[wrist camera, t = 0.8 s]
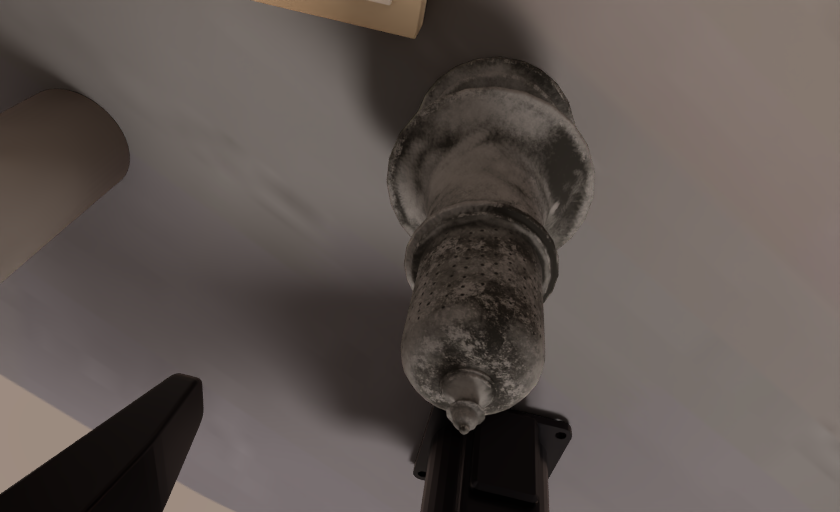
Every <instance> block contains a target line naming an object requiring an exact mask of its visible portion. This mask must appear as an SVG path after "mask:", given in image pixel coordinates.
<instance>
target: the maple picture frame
mask: <svg viewBox="0 0 840 512" xmlns="http://www.w3.org/2000/svg"><path fill="white" fill-rule="evenodd" d="M252 1H256V2H261V3H265V4H269V5H273V6H278V7H282V8H286V9H290V10H294V11H299V12H303V13H307V14H311V15H316V16H320V17H324V18H328V19H332V20H337V21H341V22H345V23H349V24H354V25H358V26H362V27H366V28H370V29H375V30H379V31H383V32H387V33H392V34H396V35H400V36H404V37H409V38H413V39H415V38H416V36H417V34H418V32H419V30H420V29H421V27H422V24H423V19H424V13H425V8H426V2H427V0H252Z"/></svg>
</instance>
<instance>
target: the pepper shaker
mask: <svg viewBox="0 0 840 512" xmlns="http://www.w3.org/2000/svg"><path fill="white" fill-rule="evenodd" d="M129 163H130V153H129V148H128V144H127V141H126V139H125V137H124V135H123V133H122V131H121V129H120V128H119V126H118V125H117V123H116V122H115V121H114V120H113V118H112V117H111V116H110V115H109V114H108V113H107V112H106V111H105V110H104V109H103V108H101V107H100V106H99V105H98V104H96V103H95V102H93V101H92V100H90V99H89V98H87V97H85V96H83V95H81V94H78V93H76V92H73V91H69V90H64V89H48V90H45V91H42V92H40V93H38V94H36V95H34V96H32V97H30V98H28V99H26V100H24V101H23V102H21V103H19V104H17V105H15V106H13V107H11V108H9V109H8V110H6V111H4V112H2V113H0V283H2V282H3V281H4V280H5V279H6V278H7V277H9V276H10V275H11V274H12V273H13V272H14V271H16V270H17V269H18V268H19V267H20V266H21V265H23V264H24V263H25V262H26V261H27V260H28V259H30V258H31V257H32V256H33V255H34V254H35V253H37V252H38V251H39V250H40V249H41V248H42V247H44V246H45V245H46V244H47V243H48V242H49V241H51V240H52V239H53V238H54V237H55V236H56V235H58V234H59V233H60V232H61V231H62V230H63V229H65V228H66V227H67V226H68V225H69V224H70V223H72V222H73V221H74V220H75V219H76V218H77V217H79V216H80V215H81V214H82V213H83V212H84V211H86V210H87V209H88V208H89V207H90V206H91V205H93V204H94V203H95V202H96V201H97V200H98V199H100V198H101V197H102V196H103V195H104V194H105V193H107V192H108V191H109V190H110V189H111V188H112V187H114V186H115V185H116V184H117V183H118V182H119V181H120V180H122V179H123V177H124V176H125V175H126V173H127V171H128V168H129Z"/></svg>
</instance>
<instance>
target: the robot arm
mask: <svg viewBox="0 0 840 512" xmlns="http://www.w3.org/2000/svg"><path fill="white" fill-rule="evenodd" d="M202 416H203V388H202V381H201V380H200V379H199V378H197V377H193V376H189V375H185V374H181V373H177V374H174V375H172V376H170V377H169V378H167V379H166V380H164V381H163V382H161V383H160V384H158V385H157V386H156V387H154V388H153V389H151V390H150V391H148V392H147V393H145V394H144V395H143V396H141V397H140V398H138V399H137V400H135V401H134V402H132V403H131V404H129V405H128V406H127V407H125V408H124V409H122V410H121V411H119V412H118V413H116V414H115V415H114V416H112V417H111V418H109V419H108V420H106V421H105V422H103V423H102V424H101V425H99V426H98V427H96V428H95V429H93V430H92V431H90V432H89V433H88V434H87V435H85V436H83V437H82V438H80V439H79V440H77V441H76V442H75V443H73V444H72V445H70V446H69V447H67V448H66V449H65V450H63V451H62V452H60V453H59V454H57V455H56V456H54V457H53V458H51V459H50V460H49V461H47V462H46V463H44V464H43V465H41V466H40V467H38V468H37V469H36V470H34V471H33V472H31V473H30V474H28V475H27V476H25V477H24V478H23V479H21V480H20V481H18V482H17V483H15V484H14V485H12V486H11V487H10V488H8V489H7V490H5V491H4V492H2V493H1V494H0V512H163V510H164V507H165V505H166V503H167V501H168V498H169V496H170V494H171V491H172V489H173V487H174V484H175V482H176V480H177V477H178V475H179V473H180V470H181V468H182V466H183V463H184V461H185V459H186V456H187V454H188V451H189V449H190V447H191V444H192V442H193V440H194V437H195V435H196V433H197V430H198V428H199V426H200V423H201V420H202ZM571 438H572V430H571V426H570V425H569V424H567V423H565V422H561V421H557V420H553V419H549V418H545V417H540V416H536V415H532V414H528V413H524V412H520V411H515V410H511V409H506V410H503V411H501V412H498V413H495V414H489V415H485V419H484V420H483V422H482V423H481V424H479V425H477V426H476V427H475V428H474V429H473V430H470V431H469V432H468V433H467V434H464V435H463V434H461V433H460V432H459V430H458V429H457V428H456V427H455V426H454V425H453V423H452V422H451V421H450V420H449V419H448V417H447V413H446V411H445V410H443V409H440V408H438V407H436V406H434V405H433V408H432V411H431V414H430V417H429V420H428V424H427V427H426V430H425V433H424V436H423V439H422V443H421V446H420V449H419V452H418V455H417V459H416V462H415V465H414V471H413V474H414V476H415V477H416V478H418V479H421V480H425V485H424V491H423V498H422V504H421V511H420V512H549V491H548V478H549V477H550V475H551V473H552V471H553V470H554V468H555V466H556V464H557V463H558V461H559V459H560V457H561V456H562V454H563V452H564V450H565V449H566V447H567V445H568V443H569V442H570V440H571Z"/></svg>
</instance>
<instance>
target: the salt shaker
mask: <svg viewBox="0 0 840 512" xmlns="http://www.w3.org/2000/svg"><path fill="white" fill-rule="evenodd" d="M594 174H595V171H594V167H593V163H592V159H591V156H590V152H589V148H588V145H587V143H586V142H585V140H584V139H583V137H582V135H581V134H580V132H579V131H578V129H577V128H576V126H575V123H574V119H573V115H572V112H571V108H570V105H569V102H568V100H567V99H566V97H565V95H564V94H563V92H562V91H561V89H560V87H559V86H558V84H556V83H555V82H554V81H553V80H552V79H551V78H550V77H549V76H547V75H546V74H545V73H544V72H543V71H542V70H540V69H538V68H535V67H533V66H531V65H529V64H527V63H525V62H523V61H519V60H514V59H508V58H502V57H493V58H482V59H475V60H473V61H470V62H467V63H464V64H462V65H459V66H456V67H455V68H453V69H452V70H451V71H449V72H448V73H446V74H445V75H443V76H442V77H441V78H439V79H438V80H437V81H436V83H435V84H434V85H433V86H432V88H431V89H430V90H429V91H428V92H427V94H426V95H425V97H424V99H423V102H422V104H421V106H420V109H419V111H418V113H417V114H416V115H415V116H414V117H413V118H412V119H411V121H410V122H409V123H408V124H407V126H406V127H405V128H404V129H403V130H402V132H401V133H400V134H399V136H398V139H397V141H396V143H395V146H394V148H393V150H392V153H391V155H390V158H389V165H388V174H387V186H388V191H389V197H390V202H391V206H392V208H393V210H394V212H395V214H396V216H397V218H398V220H399V222H400V224H401V226H402V227H403V228H404V229H405V230H406V231H407V233H408V234H409V235H410V236H411V239H410V241H409V243H408V245H407V248H406V255H405V261H404V266H405V272H406V278H407V281H408V283H409V285H410V287H411V289H412V291H413V293H412V298H411V302H410V306H409V310H408V314H407V318H406V323H405V327H404V331H403V336H402V342H401V359H402V365H403V370H404V372H405V374H406V376H407V378H408V380H409V381H410V383H411V384H412V386H413V387H414V388H415V390H416V391H417V392H418V393H419V394H420V395H421V396H422V397H423V398H424V399H425V400H426V401H428V402H430V403H431V404H433V405H434V406H436V407H438V408H440V409H443V410H445V411H446V413H447V417H448V419H449V420H450V421H451V422H452V423H453V425H454V426H455V427H456V428H457V429H458V430H459V432H460V433H461V434H463V435H464V434H467V433H468V432H469V431H470V430H473V429H474V428H475V427H476V426H477V425H479V424H481V423H482V422H483V420H484V419H485V415H489V414H495V413H498V412H501V411H503V410H506V409H509V408H510V407H512V406H513V405H515V404H516V403H518V402H519V401H521V400H522V399H523V398H524V397H526V396H527V395H528V394H529V393H530V392H531V390H532V389H533V388H534V387H535V386H536V385H537V383H538V380H539V378H540V375H541V373H542V369H543V366H544V362H545V335H544V311H543V303H544V302H545V301H546V299H547V298H548V297H549V295H550V294H551V293H552V291H553V289H554V286H555V283H556V281H557V278H558V266H559V257H558V254H557V251H556V250H558V249H559V248H560V247H561V246H562V245H564V244H565V243H566V242H567V241H569V240H570V239H571V238H572V237H573V235H574V234H575V232H576V231H577V230H578V228H579V227H580V225H581V224H582V223H583V221H584V220H585V218H586V216H587V213H588V210H589V207H590V204H591V202H592V199H593V196H594Z"/></svg>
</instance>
